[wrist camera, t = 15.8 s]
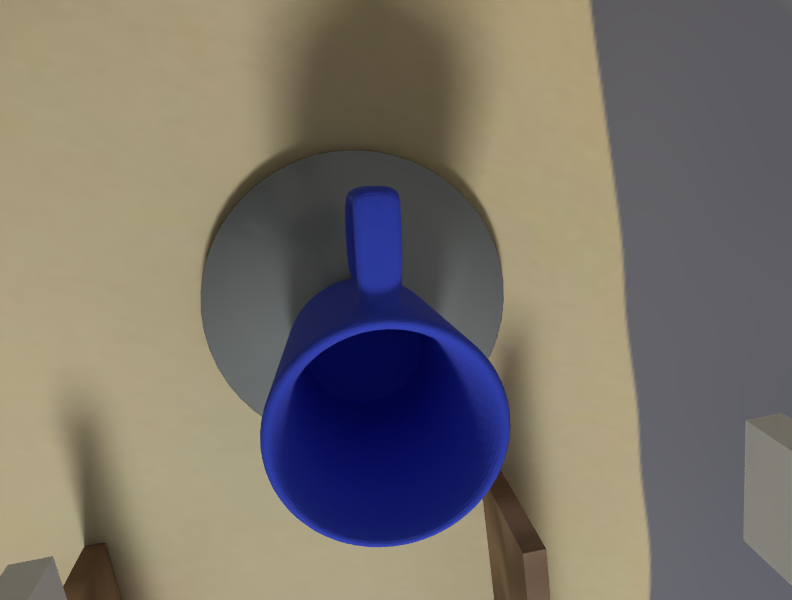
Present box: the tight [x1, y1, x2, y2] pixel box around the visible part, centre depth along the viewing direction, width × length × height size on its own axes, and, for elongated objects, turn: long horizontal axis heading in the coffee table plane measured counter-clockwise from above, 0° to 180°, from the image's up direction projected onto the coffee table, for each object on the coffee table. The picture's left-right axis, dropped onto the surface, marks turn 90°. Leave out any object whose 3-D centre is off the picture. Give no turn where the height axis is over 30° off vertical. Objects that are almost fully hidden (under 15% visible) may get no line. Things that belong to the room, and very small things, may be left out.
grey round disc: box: [201, 150, 504, 416], centre depth 31 cm, size 14×14×1 cm
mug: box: [260, 186, 510, 547], centre depth 26 cm, size 8×12×10 cm
